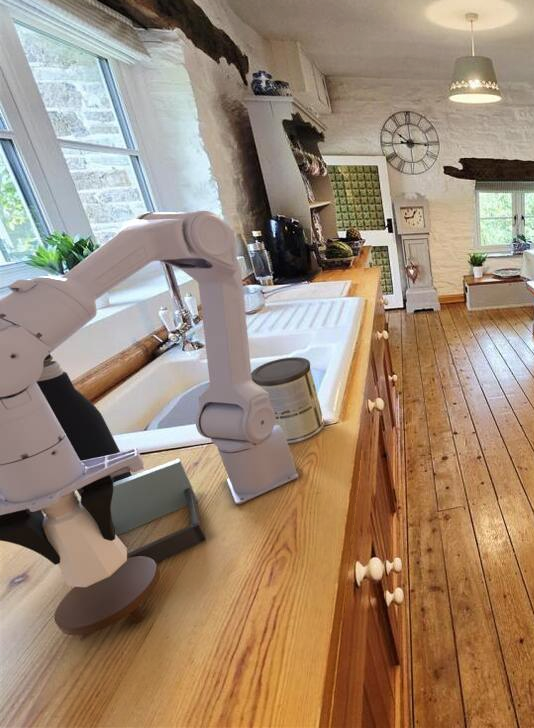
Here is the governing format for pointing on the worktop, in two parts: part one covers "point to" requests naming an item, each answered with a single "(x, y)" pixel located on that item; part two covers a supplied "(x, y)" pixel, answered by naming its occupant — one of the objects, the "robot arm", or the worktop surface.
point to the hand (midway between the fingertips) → (85, 546)
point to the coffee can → (291, 396)
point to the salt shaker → (81, 543)
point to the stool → (108, 598)
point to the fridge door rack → (157, 508)
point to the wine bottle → (77, 416)
